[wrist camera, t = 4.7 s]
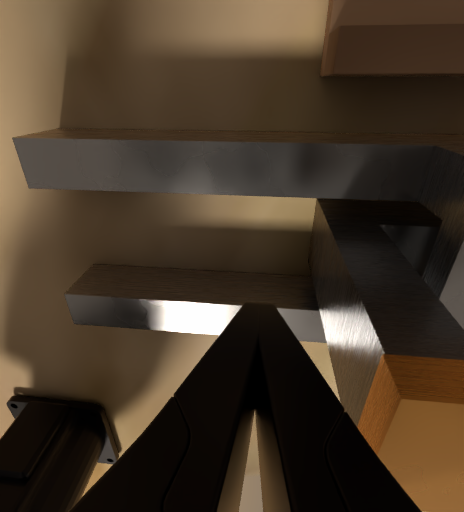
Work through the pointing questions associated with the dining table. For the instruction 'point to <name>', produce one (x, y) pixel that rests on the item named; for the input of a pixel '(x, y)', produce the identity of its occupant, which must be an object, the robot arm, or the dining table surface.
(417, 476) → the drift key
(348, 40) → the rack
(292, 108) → the dining table surface
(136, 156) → the socket
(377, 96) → the dining table surface
